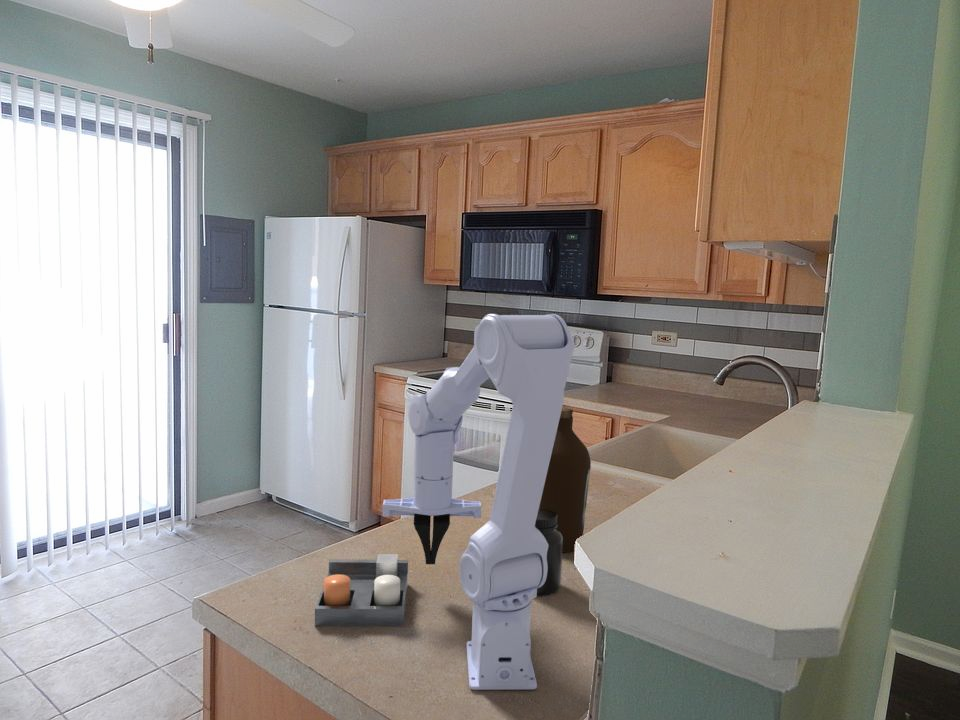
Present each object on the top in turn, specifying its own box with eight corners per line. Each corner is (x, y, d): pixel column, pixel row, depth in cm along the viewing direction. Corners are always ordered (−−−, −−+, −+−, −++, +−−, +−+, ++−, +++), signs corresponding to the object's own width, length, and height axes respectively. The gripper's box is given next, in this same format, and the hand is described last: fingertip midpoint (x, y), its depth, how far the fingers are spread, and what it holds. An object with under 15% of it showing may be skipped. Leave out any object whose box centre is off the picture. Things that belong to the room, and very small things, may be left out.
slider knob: (396, 582, 96) (396, 563, 95) (375, 582, 96) (376, 562, 95) (397, 572, 99) (398, 554, 98) (377, 572, 99) (378, 554, 98)
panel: (403, 626, 89) (403, 598, 88) (314, 625, 88) (314, 598, 88) (407, 584, 101) (408, 559, 100) (329, 583, 100) (329, 559, 99)
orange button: (348, 607, 89) (348, 586, 89) (321, 607, 89) (321, 586, 89) (351, 594, 93) (351, 574, 92) (326, 594, 93) (326, 574, 92)
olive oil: (534, 555, 113) (541, 415, 110) (522, 531, 123) (528, 402, 120) (593, 553, 114) (602, 415, 111) (576, 530, 125) (583, 403, 121)
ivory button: (399, 607, 90) (399, 586, 89) (372, 607, 90) (373, 586, 89) (400, 594, 93) (401, 574, 93) (375, 594, 93) (375, 574, 93)
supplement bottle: (533, 572, 106) (536, 502, 105) (568, 586, 102) (573, 513, 101) (507, 587, 101) (511, 513, 100) (544, 602, 97) (548, 526, 95)
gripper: (480, 467, 100) (477, 550, 102) (386, 465, 99) (384, 549, 101) (483, 482, 93) (479, 571, 95) (382, 480, 92) (380, 570, 94)
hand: (430, 561), depth 97 cm, fingers closed
